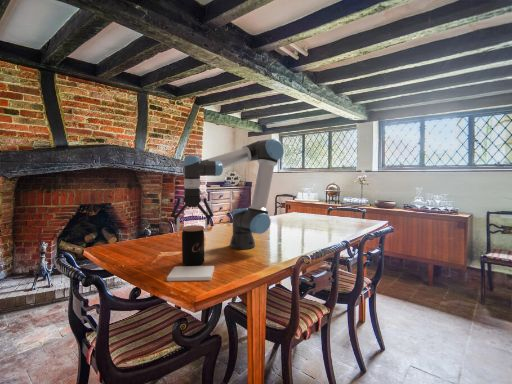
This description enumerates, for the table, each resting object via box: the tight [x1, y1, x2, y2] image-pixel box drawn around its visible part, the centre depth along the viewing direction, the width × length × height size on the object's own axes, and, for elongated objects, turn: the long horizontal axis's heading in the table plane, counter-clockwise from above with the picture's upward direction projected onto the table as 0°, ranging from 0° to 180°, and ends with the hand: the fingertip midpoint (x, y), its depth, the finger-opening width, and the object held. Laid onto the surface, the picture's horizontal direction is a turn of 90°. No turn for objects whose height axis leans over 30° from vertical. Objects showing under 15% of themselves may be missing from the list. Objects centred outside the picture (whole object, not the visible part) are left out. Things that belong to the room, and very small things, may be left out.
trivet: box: [166, 265, 215, 282], centre depth 127 cm, size 18×14×2 cm
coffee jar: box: [181, 224, 205, 266], centre depth 142 cm, size 11×11×18 cm
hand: (192, 231), depth 141 cm, fingers open, 13 cm apart
